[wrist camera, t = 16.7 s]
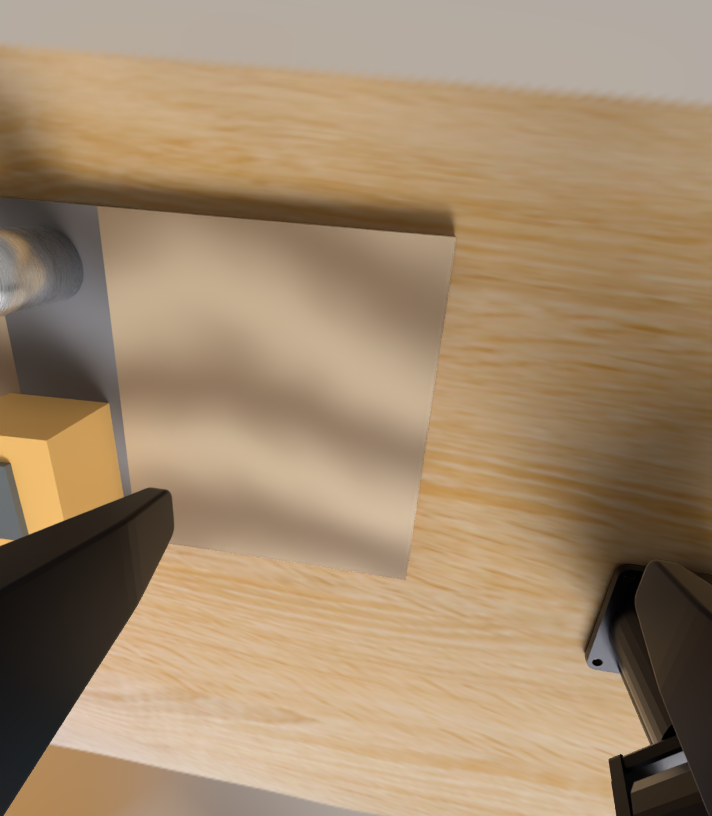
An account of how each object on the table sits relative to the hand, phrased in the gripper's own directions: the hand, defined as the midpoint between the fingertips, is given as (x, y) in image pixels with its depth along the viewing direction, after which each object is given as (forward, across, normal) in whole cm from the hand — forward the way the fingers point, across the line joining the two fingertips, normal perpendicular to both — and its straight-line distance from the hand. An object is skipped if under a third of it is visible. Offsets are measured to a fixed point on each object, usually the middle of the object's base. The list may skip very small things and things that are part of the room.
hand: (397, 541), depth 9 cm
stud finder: (+12, +16, +6) cm, 21 cm away
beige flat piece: (+12, +10, +3) cm, 16 cm away
